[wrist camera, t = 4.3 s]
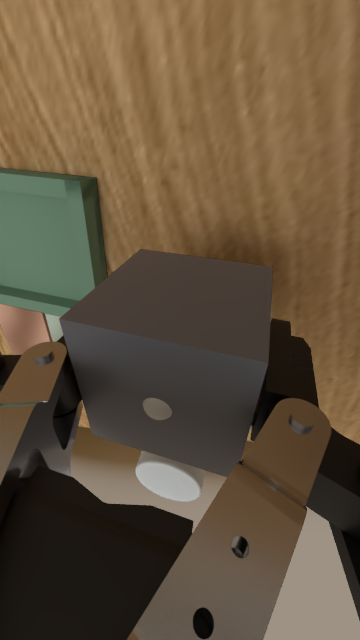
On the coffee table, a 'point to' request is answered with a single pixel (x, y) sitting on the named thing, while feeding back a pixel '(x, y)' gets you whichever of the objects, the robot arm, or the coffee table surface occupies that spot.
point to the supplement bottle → (169, 477)
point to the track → (28, 327)
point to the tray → (49, 240)
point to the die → (174, 355)
